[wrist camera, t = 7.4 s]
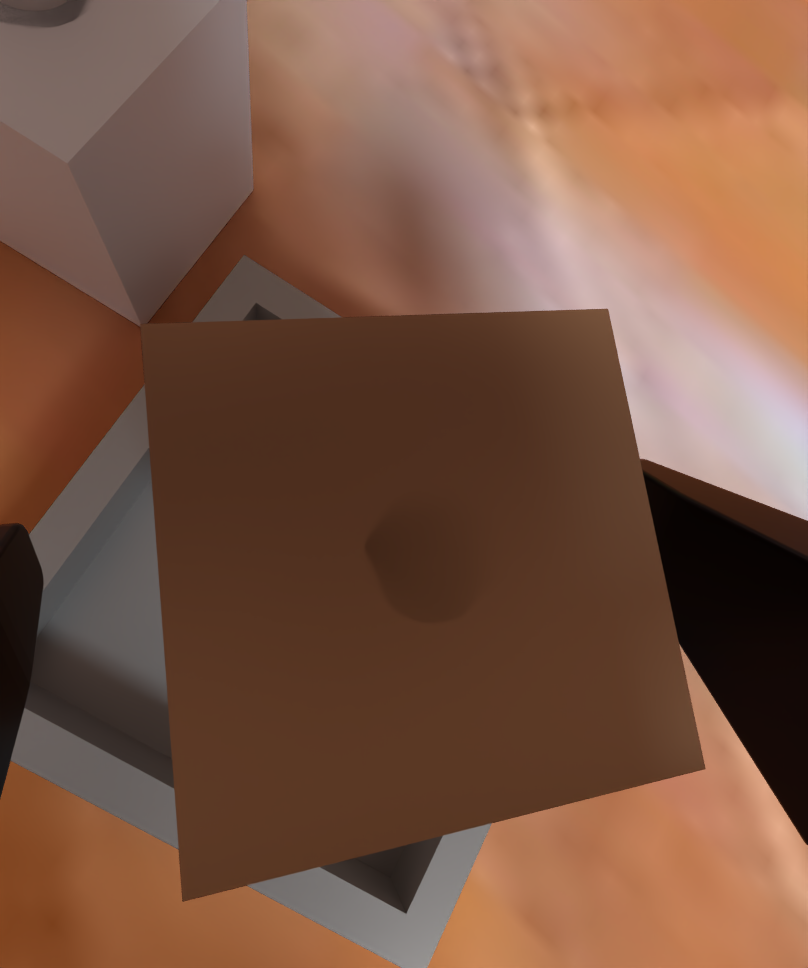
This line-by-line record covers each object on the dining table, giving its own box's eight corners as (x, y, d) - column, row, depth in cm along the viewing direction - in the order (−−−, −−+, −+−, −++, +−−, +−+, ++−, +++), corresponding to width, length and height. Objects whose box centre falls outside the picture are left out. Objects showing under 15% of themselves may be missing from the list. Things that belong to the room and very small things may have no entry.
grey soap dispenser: (142, 328, 18) (-39, -68, 7) (-41, 215, 17) (-522, -387, 7) (253, 189, 19) (235, -298, 9) (89, 83, 19) (-136, -568, 8)
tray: (397, 918, 16) (422, 978, 14) (-37, 685, 15) (-100, 702, 13) (586, 516, 20) (634, 503, 17) (247, 302, 19) (243, 254, 16)
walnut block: (408, 655, 17) (705, 768, 5) (245, 684, 16) (183, 901, 4) (386, 500, 18) (607, 308, 6) (229, 517, 17) (140, 324, 5)
